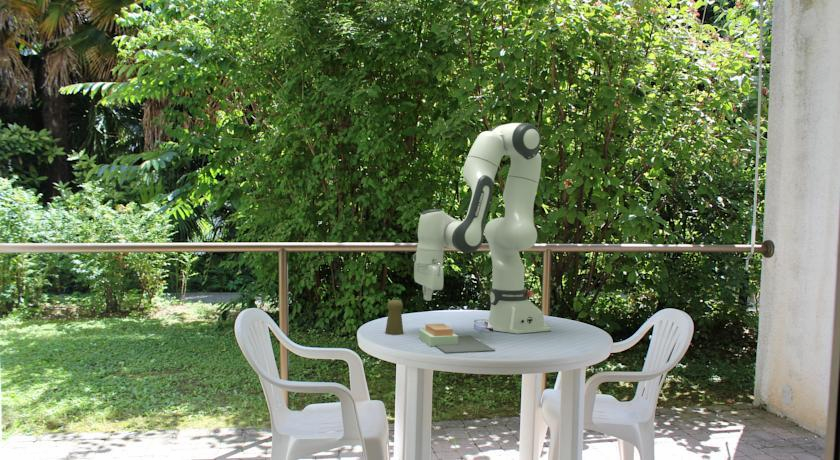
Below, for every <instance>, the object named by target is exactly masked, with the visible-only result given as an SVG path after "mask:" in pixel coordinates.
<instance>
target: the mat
mask: <svg viewBox="0 0 840 460" xmlns="http://www.w3.org/2000/svg"><path fill="white" fill-rule="evenodd" d="M457 336H458V344H451V345H435V348H437V349H438V350H439V351H441V352H442V353H444V354H446V355H447V354H461V353H462V354H463V353H467V354H468V353H483V352H485V353H486V352H496V349H494V347H491V346H489V345H488V344H485V343H484V342H482V341H480V340H478V339H477V338H475V337H473V336H472V335H457Z"/></svg>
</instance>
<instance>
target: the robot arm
mask: <svg viewBox="0 0 840 460" xmlns="http://www.w3.org/2000/svg"><path fill="white" fill-rule="evenodd" d="M541 141H542V137H541V133H540V130H539V128H538V127H537V126H536V125H534V124H531V123H527V122H522V123H521V122H510V123H505V124H497V125H495V126H492V128H491V129H489V130H485V131H482V132H481V133H479V134H478V136H477V137H476V138H475V140H474V141H473V144H472V146H471V148H470V149H469V152H468V155H467V156H466V160H465V162H464V165H463V168H462V177H463V180H464V182H465V184H467V185H468V187H470V189H471V198H470V202H469V206H468V208H467V212H466V216H465V217H464V219H463V220H458V219H457V218H454V217H452V216H451V215H449V214H447V213H446V212H445V211H444V210H443V209H440V208H434V209H426V210H424V211H422V212H421V213H420V217H419V221H418V225H417V227H418V228H417V238H418V241H417V243H418V244H417V246H416V252H415V253H414V254H413V255H412V261H413V262H414V263H413V264H414V265H413V277H414V278H413V279H414V282H415V283H417V284H419V285H421V286H422V293H423V300H425V301H427V302H429V301H432V296H433V292H434V291H442V290H443V288H444V267H442V265H443V264H444V251H445V248H448V249H452V250H455V251H456V250H457V251H459V252H462V253H464V254H473V253H474V252H476V251H477V250H478V249H480V247H482V244H483V241H484V237H485V240H486V241H487V244H488V247H489V253H490V257H491V263H492V279H491V280H492V283H491V286H492V287H491V288H490V294H489V295H490V310H489V316H488V320H487V323H488V322H489V324H490V325H491V326H492V327H493V330H492V331H496V332H502V333H511V334H529V333H539V332H549V331H551V327H550V325H549V324H546V323H545V317H544V316H545V315H544V313H543V311H542V310H541V309H540V308H539V307H538V306H536V305H535V304H534V303H533V302H532V301H530V300H529V297H530V298H532V297H534V296H535V294H534V293H533V291H531V290H527V289H525V266H524V263H523V262H522V259H521V255H520V252H521V251H526V250H529V249H531V248H532V247H533V246H534V245H535V244H536V242H537V239H538V232H537V231H538V230H537V228H536V227H535V223H534V206H535V200H536V196H537V190H538V186H539V184H540V183H539V182H540V177H541V171H542V157H541V155H540V153H539V152H540V147H541ZM504 156H509V157H510V166H509V170H508V173H507V177H506V182H505V185H504V189H503V194H502V201H503V203H504V204H503V205H504V217H503V216H501V217H500V216H499V217H496V218H493V219H490V220H489V221H488V222H486V218H487V215H488V211H489V208H490V204H491V202H492V197H493V193H494V182H495V177H496V176H497V175H496V174H497V172H498V168H499V166H500V163H501V160H502V158H503V157H504ZM485 223H486V224H485Z"/></svg>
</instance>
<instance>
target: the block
mask: <svg viewBox="0 0 840 460" xmlns="http://www.w3.org/2000/svg"><path fill="white" fill-rule="evenodd" d="M425 329H426V331H427V332H429V333H430V334H432V335H433V336H452V335H453V333H454V332H453V331H454V330H453V328H452V327H450V326H448V325H446V324H444V323H425Z"/></svg>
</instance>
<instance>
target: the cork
mask: <svg viewBox="0 0 840 460" xmlns="http://www.w3.org/2000/svg"><path fill="white" fill-rule="evenodd" d="M386 307H387V310H388V314H387V319H386V327H385V334H387V335H392V336H395V335H396V336H398V335H403V334H404V327H403V317H402V310H403V307H404V304H403V302H402V300H398V299H392V300H388V302H387V304H386Z"/></svg>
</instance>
